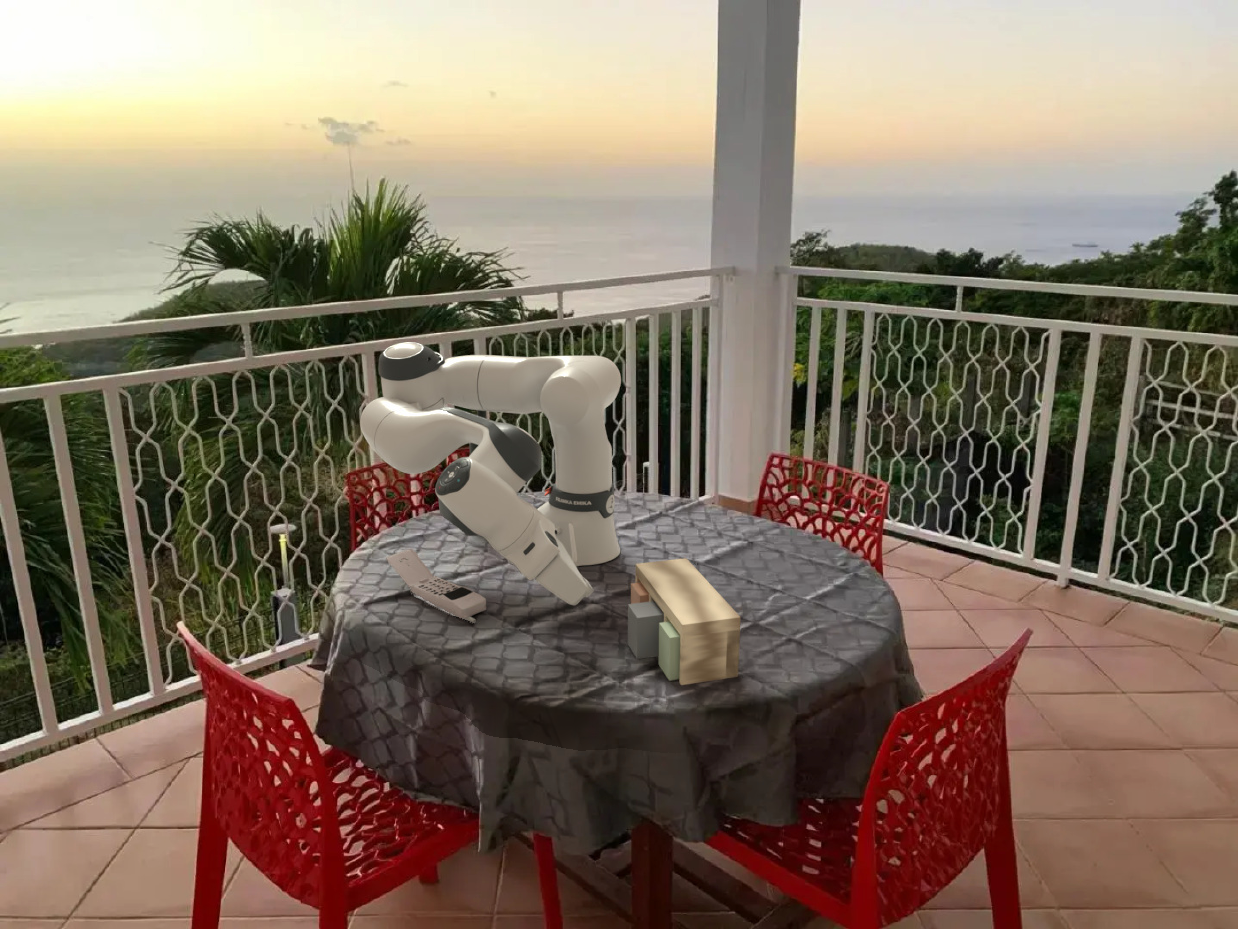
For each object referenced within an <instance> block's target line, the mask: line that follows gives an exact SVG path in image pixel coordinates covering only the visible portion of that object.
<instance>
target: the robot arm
mask: <svg viewBox="0 0 1238 929" xmlns="http://www.w3.org/2000/svg"><path fill="white" fill-rule="evenodd" d="M378 375H379V376H380V382H381V390H382V396H381V397H378V398H376V399H374V400H371V401H370V402H369V403H368V404H367V405H366V406H365V407H364V409H363V410H362V413H361V415H360V420H359V421H360V422H359V423H360V424H359V425H360V430H361V432H362V435H363V438H364V439H365V441H366V442H367V444H369V446H370V448H371V449H372V451H374V453H376V455H378V457H379V458H381V459H382V461H384V462H385V463H387V464H388V465H389V466H390V467H392V468H394V469H395V470H397V471H399V472H402V473H405V474H408V475H409V474H410V475H414V474H415V475H416V474H421V473H425V472H428V471H431V470H432V469H434V468H435V467H437V466H438V465H439V464H441V463H442V462H443V461H444V460H445V459H447V458H448V457H449V456H450V455H452V454H453V453H454V452H455V451H456V450H458V449H459V448H461V447H462V446H465V445H468V444H469V443H474V444H477V445H478V447H477V448H476V449H475V450H474V451H473V452H472V454H471V455H470V454H469V456H463V457H460V458H456V459H455V460H454V461H452V462H451V463H450V464H448V466H446V468H444V469H443V470H442V472H441V474H440V475H439V477H438V479H437V482H436V484H435V489H434V490H435V495H436V496H437V498H438V507H439V514H440V515H441V516H442V518H444V519H445V520H447V521H448V522H450V523H451V524H452V525H454V527H456V528H457V529H459V530H460V531H461V532H462V533H464V535H465V536H467V537H468V536H469V537H470V536H471V537H472V536H473V537H475V536H477V537H478V536H481V537H483V538H484V539H485V540H487V542H488V543H489V545H490V546H491V547H492V548H493V550H494V551H495V552H497V553H498V554H500V555H501V556H502V557H503V558H504V559H506V560H507V561H508V562H509V563H510V564H511V565H513V566H514V567H515V568H517V570H518V571H519V573H521V575H522V576H523V577H524V578H526V579H527V580H529V581H533V580H536V582H537V583H539V584H540V586H542V587H543V588H545V589H546V590H547V591H549V592H551V593H552V594H553V595H554V596H555V597H557V598H559V599H560V600H562V601H563V602H565V603H566V604H568V605H571V606H577V605H578V604H579V603H580V602H581V601H582V600H583V599H584V598H588V597H590V596H591V595H592V594H593V593H594V588H593V587H592V585H591V584H590V581H589V580H587V579H586V578H585V577H584V576H583V575H582V574H581V573H580V571H579V569H578V567H579V566H581V567H582V566H592V565H599V564H603V563H607V562H609V561H612V560H614V559H616V558H617V557H618V556H619V555H620V553H621V548H620V544H619V542H618V539H617V533H616V527H615V520H614V513H615V503H616V502H615V484H613V472H612V471H613V470H612V469H613V468H612V467H613V462H612V460H613V455H612V452H613V450H612V449H613V448H612V445H611V443H610V441H609V439H608V435H607V429H606V426H605V416H604V415H605V411H606V410H605V409H606V408H607V407H609V406H611V404H612V403H613V402H614V401H615V399H616V398H617V396H618V394H619V392H620V387H621V386H622V385H621V384H622V377H621V373H620V370H619V368H618V366H617V365H616V364H615V363H614V362H613V361H612V360H611V359H610V358H607V357H605V356H601V355H551V356H531V357H530V356H511V355H510V356H509V355H492V354H491V355H490V354H470V355H468V354H467V355H460V356H452V357H448V358H444V356H443V355H442V354H440V353H439V352H437V351H434V350H433V349H431V348H430V347H428V346H426V345H425V344H422V343H418V342H415V341H414V342H413V341H412V342H411V341H409V342H400V343H395V344H393V345H391V346H389V347H387V348H386V349H385V350H383V352H382V353H380V355H379V359H378ZM447 405H452V406H456V407H460V408H463V409H469V410H474V411H475V410H476V411H477V410H481V411H486V412H493V413H494V412H496V413H509V414H520V415H526V414H527V415H528V414H534V413H543V414H544V416H545V417H546V418H547V419H548V423H549V428H550V432H551V436H552V440H553V445H554V453H555V455H554V458H555V459H554V460H555V483H553V484H551V485H549V486H548V487H549V488H546V489H545V490H544V492H545V493H544V496H545V497H546V496H549V497H548V500H547V501H546V502H544V503H543V504H542V505H540V506H539V507H538V508H536V507H535V506H534V505H533V504H531V503H530V502H527V501H525V500H523V499H522V498H521V497H519V495H518V493H519V491H521V490H522V488H523V487H524V485H526V483H528V482H529V481H530V480H531V479H532V478H533V477H534V476H535V475H537V473H538V472H539V471H540V470H541V469H542V462H543V461H542V447H541V446H540V444H539V443H538V442H537V440H536V439H535V437H533V436H532V435H531V434H530V433H529V432H527V431H526V430H524V429H523V428H521V427H519V426H516V425H514V424H511V423H508V422H507V423H506V422H498V421H495V420H492V419H489V418H487V419H486V418H483V417H480V416H477V414H474V413H471V412H469V411H466V410H462V409H459V408H456V407H452V406H447Z"/></svg>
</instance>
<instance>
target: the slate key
mask: <svg viewBox="0 0 1238 929" xmlns="http://www.w3.org/2000/svg"><path fill="white" fill-rule="evenodd" d="M662 622H664V612H663V611H662V610H661V608H660V607H659V606H658V604H657V603H656V602H655V601H650V602H642V603H634V604H631V603H628V604H627V645H628V647H629V648H630V650H631V652H632V654H633V655H634V656H635V658H636V659H637V660H640V659H648V658H652V657H653V658H654V657H659V623H662Z"/></svg>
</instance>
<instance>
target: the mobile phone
mask: <svg viewBox="0 0 1238 929" xmlns="http://www.w3.org/2000/svg"><path fill="white" fill-rule="evenodd" d="M385 558H386V560H387V563H388V564H389V565H390V566H391V567H392V568H393V570H395V572H396V573H397V575H399V577H400V578H401V579H402V580H403V581H404V582H405V584H406V585H407V586H408V588H410V592H411V591H412V592H413V593H415V594H416V595H418V596H420V597H422V598H423V599H425V600H426V601H429V602H430V603H432V604H434V605H435V606H437V607H440V608H442V609H444V610H445V611H447V612H449V613H452V614H453V615H455V616H457V617H459V618H458V619H461V618H462V619H461V620H463V619H466V620H468V621H470V622H469V623H471V622H472V623H471V624H473V623H474V622H475V623H476V622H477V620H476V619H475V617H472V616H474V615H476V614H479V613H481V612H484V611H486V610H487V605H486V604H487V600H486V599H487V598H486V597H484V596H483V595H481V594H479V593H476V591H473V590H472V589H470V588H467V587H465V586H460V585H458V584H455V583H453V582H450V581H448V580H445V579H443V578H440V577H438V576H437V575H435V576H434V575H433V573H432V572H431V571H430V570H429V568H428V567H427V566H426V564H425V563H424V562H423V561H422V560H421V558H420V557H419V554H418V553H417V552H416V551H415V550H413V549H412V548H410V549H406V550H402V551H399V552H397V553H394V554H391V555H389V556H385ZM468 621H467V622H468ZM475 623H474V624H475Z"/></svg>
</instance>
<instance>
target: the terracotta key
mask: <svg viewBox="0 0 1238 929" xmlns="http://www.w3.org/2000/svg"><path fill="white" fill-rule="evenodd" d="M642 602H649V592H648V591H647V590H646V588H645V587H644V586H643V584H642V583H641V582H639V583H635V582H633V583H630V604H634V603H642Z"/></svg>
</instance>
